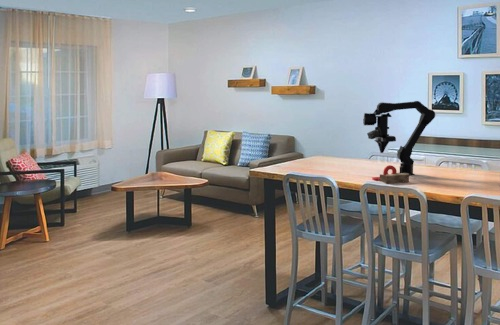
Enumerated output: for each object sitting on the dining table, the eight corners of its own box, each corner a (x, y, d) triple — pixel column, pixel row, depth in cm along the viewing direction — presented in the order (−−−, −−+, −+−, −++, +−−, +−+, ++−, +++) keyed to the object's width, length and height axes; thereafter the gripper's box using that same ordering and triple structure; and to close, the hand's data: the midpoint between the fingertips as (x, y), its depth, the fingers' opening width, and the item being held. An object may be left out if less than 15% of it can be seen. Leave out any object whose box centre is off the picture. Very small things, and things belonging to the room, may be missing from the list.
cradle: (399, 179, 262) (399, 170, 261) (408, 182, 254) (409, 173, 253) (378, 181, 258) (378, 172, 257) (387, 184, 250) (387, 175, 249)
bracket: (393, 178, 265) (393, 164, 264) (396, 180, 261) (396, 165, 259) (371, 179, 264) (371, 164, 263) (374, 180, 260) (374, 166, 258)
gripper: (361, 124, 278) (360, 151, 280) (378, 127, 260) (378, 155, 263) (378, 123, 281) (377, 150, 284) (396, 126, 264) (396, 154, 266)
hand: (381, 152), depth 274 cm, fingers closed
